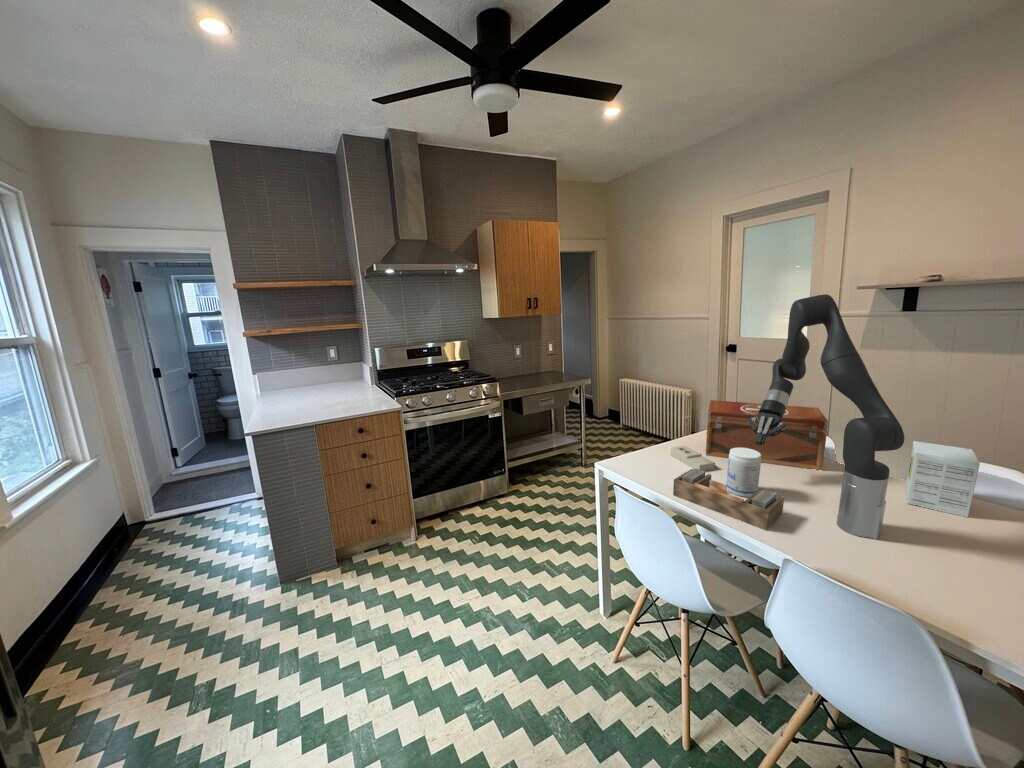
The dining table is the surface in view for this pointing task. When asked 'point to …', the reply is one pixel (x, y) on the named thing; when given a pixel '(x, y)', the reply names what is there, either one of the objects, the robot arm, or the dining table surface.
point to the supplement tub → (743, 471)
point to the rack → (729, 499)
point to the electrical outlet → (692, 458)
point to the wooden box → (787, 448)
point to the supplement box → (942, 477)
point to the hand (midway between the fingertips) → (758, 443)
